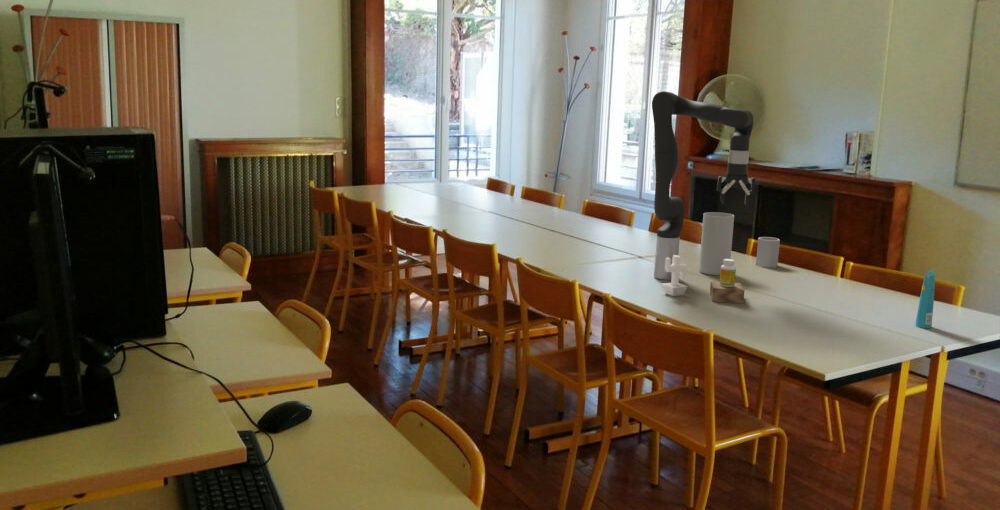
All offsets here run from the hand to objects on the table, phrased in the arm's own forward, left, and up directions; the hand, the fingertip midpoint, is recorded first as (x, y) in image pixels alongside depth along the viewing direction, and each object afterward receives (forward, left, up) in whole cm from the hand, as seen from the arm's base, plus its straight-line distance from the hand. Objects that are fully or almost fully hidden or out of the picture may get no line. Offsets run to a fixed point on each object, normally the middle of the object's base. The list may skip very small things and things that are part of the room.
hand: (734, 203), depth 323 cm
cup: (+22, +45, -33) cm, 60 cm away
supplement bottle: (-3, -22, -28) cm, 36 cm away
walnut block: (-3, -22, -33) cm, 39 cm away
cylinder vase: (-3, +23, -33) cm, 41 cm away
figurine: (-22, -20, -33) cm, 44 cm away
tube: (+59, -44, -33) cm, 80 cm away
